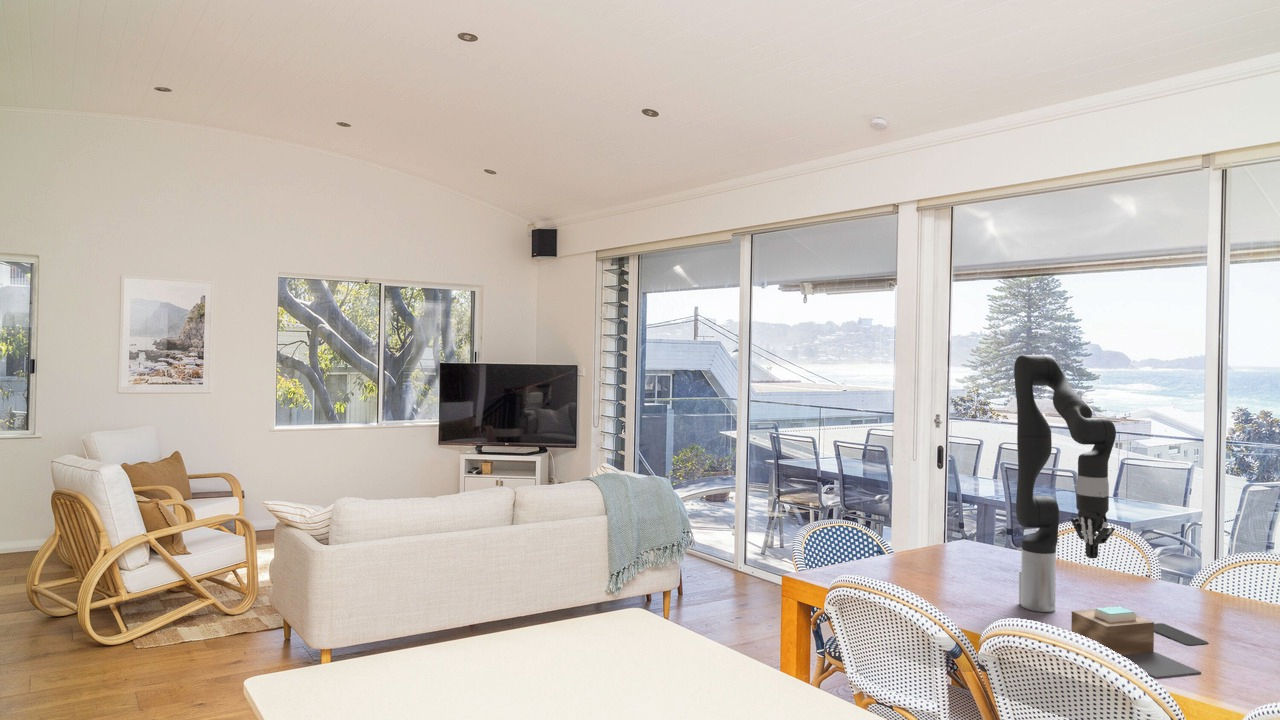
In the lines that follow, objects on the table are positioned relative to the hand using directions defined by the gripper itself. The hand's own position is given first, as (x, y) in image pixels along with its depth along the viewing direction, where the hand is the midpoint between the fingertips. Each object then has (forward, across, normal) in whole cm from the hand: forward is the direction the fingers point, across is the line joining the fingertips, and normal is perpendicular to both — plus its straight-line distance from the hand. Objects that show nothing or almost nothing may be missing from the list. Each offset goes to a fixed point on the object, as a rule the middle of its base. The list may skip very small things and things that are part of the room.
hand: (1091, 557), depth 217 cm
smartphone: (+22, +3, +24) cm, 33 cm away
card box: (+14, +8, 0) cm, 16 cm away
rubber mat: (+22, +20, +1) cm, 29 cm away
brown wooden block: (+22, +7, 0) cm, 23 cm away
